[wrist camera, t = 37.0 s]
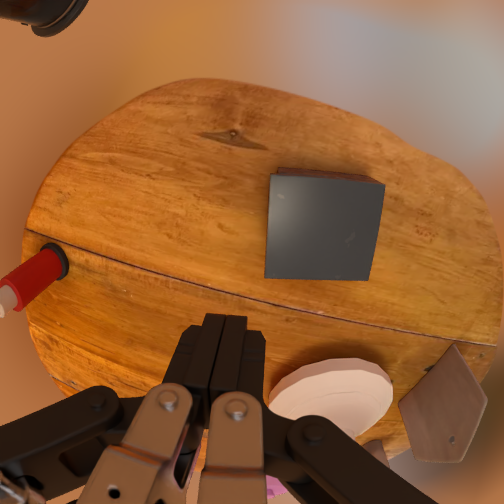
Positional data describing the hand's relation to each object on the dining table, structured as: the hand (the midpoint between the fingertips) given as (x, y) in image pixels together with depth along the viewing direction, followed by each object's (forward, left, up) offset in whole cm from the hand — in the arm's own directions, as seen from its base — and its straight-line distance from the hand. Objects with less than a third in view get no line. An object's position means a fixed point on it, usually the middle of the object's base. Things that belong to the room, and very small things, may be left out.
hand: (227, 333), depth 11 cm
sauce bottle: (+10, -31, -22) cm, 39 cm away
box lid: (+2, +7, -18) cm, 19 cm away
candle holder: (+30, +13, -23) cm, 40 cm away
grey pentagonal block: (+30, +35, -23) cm, 52 cm away
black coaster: (+10, -31, -23) cm, 40 cm away
